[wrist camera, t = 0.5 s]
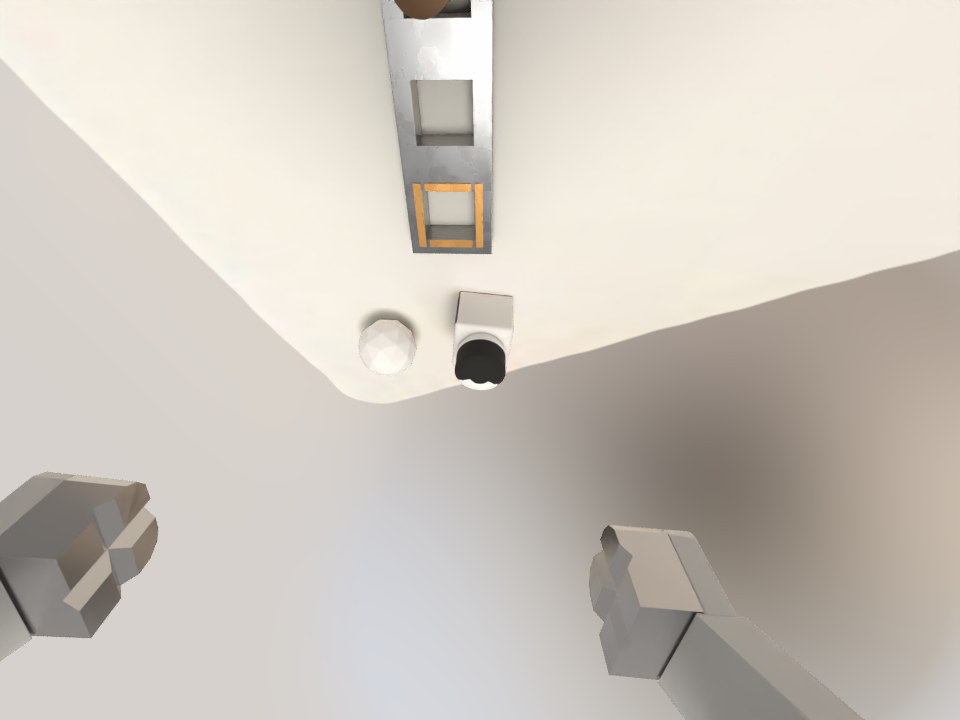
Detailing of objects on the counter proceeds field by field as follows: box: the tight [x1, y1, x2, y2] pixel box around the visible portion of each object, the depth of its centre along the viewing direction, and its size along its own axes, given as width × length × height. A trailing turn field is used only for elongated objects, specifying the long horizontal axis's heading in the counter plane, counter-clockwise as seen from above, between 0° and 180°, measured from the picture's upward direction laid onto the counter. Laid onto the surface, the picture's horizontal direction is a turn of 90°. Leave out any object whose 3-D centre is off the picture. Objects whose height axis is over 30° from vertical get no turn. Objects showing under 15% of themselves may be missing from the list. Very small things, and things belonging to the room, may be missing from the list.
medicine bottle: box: [452, 292, 513, 390], centre depth 58 cm, size 7×7×12 cm
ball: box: [359, 320, 417, 376], centre depth 62 cm, size 8×8×8 cm
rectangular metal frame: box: [381, 0, 493, 254], centre depth 44 cm, size 29×9×4 cm, turn 1°
